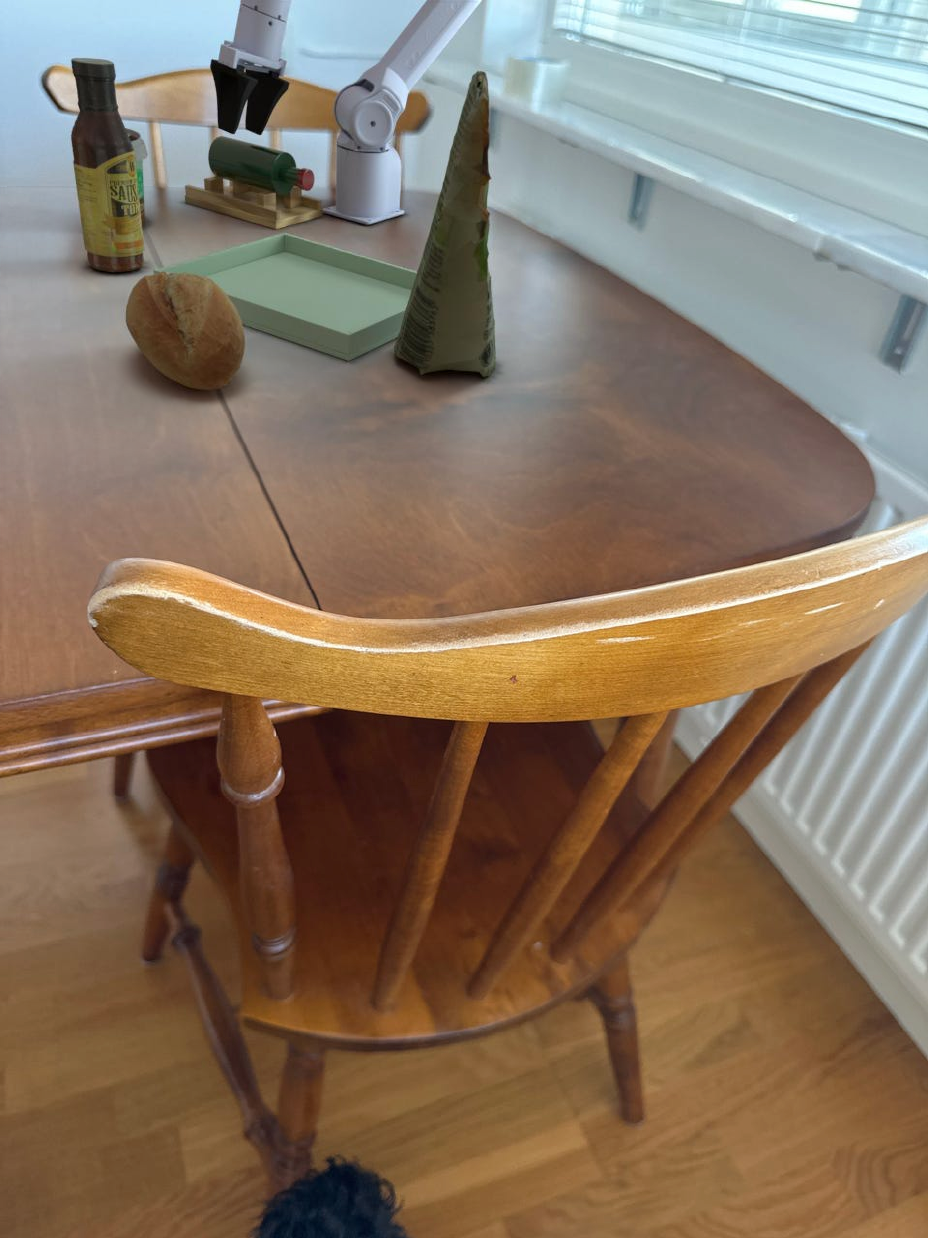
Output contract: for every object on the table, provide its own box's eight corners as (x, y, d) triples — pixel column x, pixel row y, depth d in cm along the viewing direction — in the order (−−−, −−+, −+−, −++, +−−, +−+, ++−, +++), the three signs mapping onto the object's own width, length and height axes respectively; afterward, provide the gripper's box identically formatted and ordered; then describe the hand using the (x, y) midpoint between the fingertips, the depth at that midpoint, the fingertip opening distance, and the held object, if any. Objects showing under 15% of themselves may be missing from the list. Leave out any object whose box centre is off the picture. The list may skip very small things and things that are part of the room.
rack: (234, 191, 130) (233, 165, 128) (322, 216, 125) (322, 189, 123) (184, 202, 123) (182, 175, 121) (276, 229, 118) (275, 200, 116)
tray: (284, 254, 110) (283, 232, 108) (459, 307, 101) (461, 284, 100) (155, 294, 95) (152, 269, 93) (348, 361, 86) (349, 334, 85)
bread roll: (155, 408, 74) (143, 313, 70) (116, 341, 84) (104, 253, 79) (266, 395, 79) (263, 304, 74) (217, 332, 89) (211, 249, 84)
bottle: (235, 174, 126) (233, 133, 123) (320, 198, 121) (320, 155, 118) (209, 180, 122) (206, 137, 119) (296, 204, 117) (295, 160, 114)
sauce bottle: (129, 278, 98) (102, 67, 86) (76, 269, 98) (42, 58, 86) (157, 262, 103) (136, 61, 91) (106, 253, 104) (78, 52, 91)
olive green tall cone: (449, 332, 95) (475, 58, 80) (530, 373, 89) (576, 83, 73) (367, 352, 88) (378, 57, 73) (448, 397, 82) (478, 85, 67)
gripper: (260, 8, 115) (238, 121, 122) (205, -10, 103) (183, 117, 110) (309, 29, 115) (284, 141, 122) (260, 14, 103) (235, 140, 110)
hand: (240, 131), depth 116 cm, fingers open, 7 cm apart
